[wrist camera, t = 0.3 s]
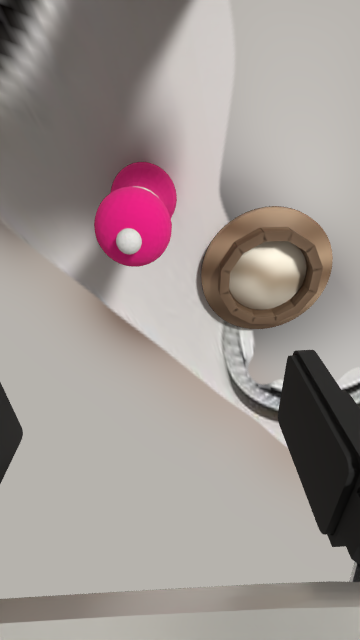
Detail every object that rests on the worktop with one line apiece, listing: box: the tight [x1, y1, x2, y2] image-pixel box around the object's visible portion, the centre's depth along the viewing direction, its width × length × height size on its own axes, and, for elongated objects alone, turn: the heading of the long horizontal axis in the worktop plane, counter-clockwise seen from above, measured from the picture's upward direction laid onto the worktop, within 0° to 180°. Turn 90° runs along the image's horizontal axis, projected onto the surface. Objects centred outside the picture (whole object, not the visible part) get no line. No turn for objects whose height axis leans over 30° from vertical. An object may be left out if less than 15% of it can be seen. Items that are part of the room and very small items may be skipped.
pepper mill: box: [94, 162, 177, 266], centre depth 29 cm, size 7×7×20 cm
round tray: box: [201, 206, 333, 329], centre depth 42 cm, size 18×18×3 cm
